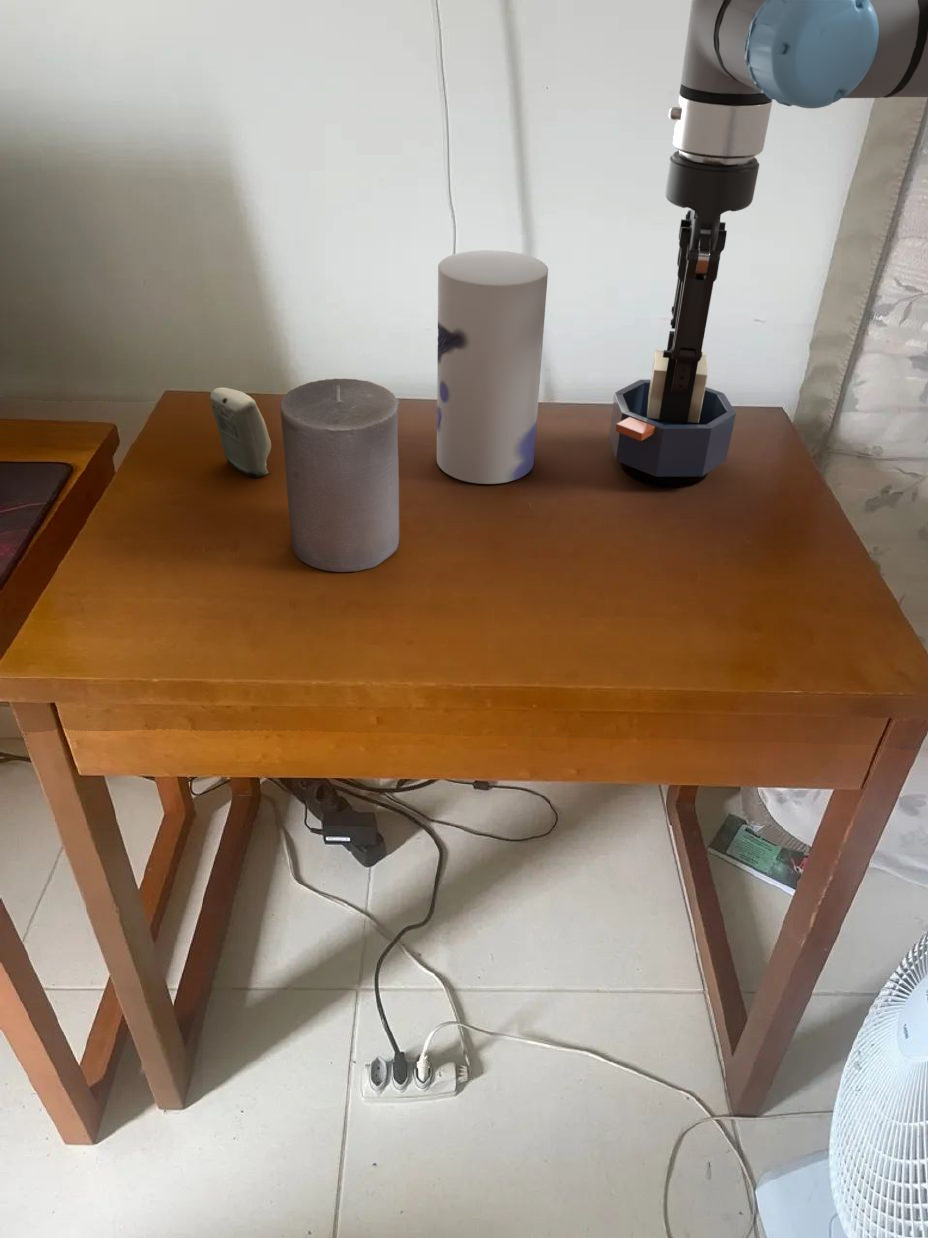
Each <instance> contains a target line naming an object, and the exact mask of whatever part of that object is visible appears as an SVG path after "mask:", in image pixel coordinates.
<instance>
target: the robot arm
mask: <svg viewBox="0 0 928 1238" xmlns="http://www.w3.org/2000/svg"><path fill="white" fill-rule="evenodd" d="M689 11H690V12H689V17H688V24H687V25H688V26H687V33H686V34H687V35H686V41H685V48H684V57H683V65H682V71H681V79H680V87H679V92H678V93H679V96H678V97H679V98H678V104H679V106H674V107H670V109H669V110H668V118H669V119H670V120H672V121H676V123H675V125H674V132H673V139H672V146H674V148H675V149H676V151H674V152H673V153H672V155H670V157H669V161H668V167H667V168H668V169H667V174H666V175H667V176H666V181H665V182H666V184H665V189H664V195H665V198H666V199H667V201H668V202H669V203H671V204H672V205H674V206H677V207H679V208H682V209H687V208H688V209H689V210H687V213H685V218H683V219H682V218H681V219H680V224H679V228H678V229H679V230H678V240H679V241H678V253H677V260H676V261H677V263H676V264H677V281H676V288H675V294H674V301H673V305H672V307H671V314H672V315H671V316H672V318H671V319H670V324H669V325H670V326H671V327H670V328H671V329H672V330H669V331H668V332H669V333H668V340H667V345H666V346H667V347H666V349H663V350H662V351H663V358H668V365H667V371H666V377H665V384H664V390H663V396H662V403H661V409H660V415H659V421H670V422H680V423H687V422H688V416H689V411H690V405H691V400H692V394H693V388H694V383H695V377H696V371H697V366H698V361H700V360H701V358H702V355H703V351H702V350H703V345H704V338H705V333H706V328H707V321H708V316H709V311H710V305H711V300H712V294H713V288H714V283H715V282H716V280H717V278H718V273H719V267H720V261H721V254H722V252H723V251H724V250H725V247H726V240H727V233H728V230H727V229H726V225H727V224H726V223H727V222H722V221H721V217H722V215H723V214H724V213H726V212H738V211H739V212H740V211H742V210H745V209H746V208H748V207H750V206H751V204H752V203H753V200H754V195H755V190H756V185H757V179H758V174H759V169H760V163H759V162H758V159H757V158H756V156H758V155H760V154H761V153H762V152H763V150H764V147H765V142H766V136H767V132H768V126H769V123H770V122H769V120H770V117H771V110H772V105H773V100H775V101H776V102H777V103H778V104H780V105H784V106H787V107H793V106H795V107H799V108H803V109H809V110H810V109H821V108H824V107H828V106H831V105H832V104H834V103H837V102H839V101H841V99H882V98H885V99H887V98H928V0H691V4H690V10H689Z"/></svg>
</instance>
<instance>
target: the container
mask: <svg viewBox="0 0 928 1238" xmlns="http://www.w3.org/2000/svg"><path fill="white" fill-rule="evenodd" d="M548 276H549V268H548V266H547V265H546V263H544V262H543V261H542V260H540V259H539V258H536V257H533V256H531V255H528V254H524V253H520V252H515V251H508V250H498V249H495V250H493V249H480V250H470V251H463V252H458V253H454V254H451V255H449V256H447V257H444V258H443V259H442V260H440V262H438V265H437V360H436V361H437V364H436V365H437V370H436V371H437V373H436V374H437V376H436V377H437V378H436V379H437V380H436V381H437V383H436V384H437V385H436V387H437V388H436V413H437V414H436V430H437V431H436V463H437V465H438V468H440V469H441V471H443V473H445V474H446V475H448V476H450V477H452V478H454V479H457V480H460V481H461V482H466V483H471V484H480V485H496V484H504V483H509V482H512V481H515V480H518V479H521V478H522V477H524V476H526V475H527V474H529V473H530V472H531V471H532V470H533V467H534V465H535V451H536V439H537V425H538V423H537V422H538V414H539V413H538V412H539V398H540V384H541V371H542V356H543V345H544V330H545V317H546V316H545V315H546V306H547V305H546V303H547V290H548V278H549V277H548Z"/></svg>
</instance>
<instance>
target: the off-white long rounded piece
mask: <svg viewBox="0 0 928 1238" xmlns="http://www.w3.org/2000/svg"><path fill="white" fill-rule="evenodd" d="M209 401H210V404H211V409H212V413H213V416H214V419H215V423H216V428H217V430H218V435H219V438H220V443H221V446H222V450H223V453H224V455H225V458H226V460H227V464H228V466H230V467H232V468H234V469H235V470H237V471H239V472H240V473H242V474H243V475H245V476H246V477H247V476H248V477H249V478H252V479H256V478H260V477H264V476H266V475H267V474H268V473H269V470H268V469H267V465H268V463H267V459H268V457H269V455H270V452H271V450H272V442H271V438H270V436H269V431H268V428H267V425H266V421H265V419H264V417H263V414H262V413H261V411H260V409H259V407H258V405H257V403H256V400H255V399H254V398H253V397H251V396H250V395H248V394H246V393H245V392H243V391H240V390H237V389H234V388H229V387H215V388H213V389H212V391H211V392H210V395H209Z"/></svg>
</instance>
